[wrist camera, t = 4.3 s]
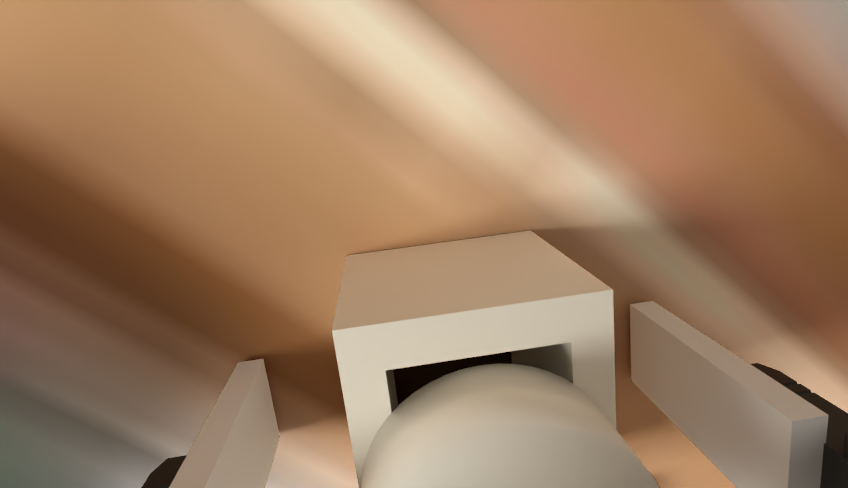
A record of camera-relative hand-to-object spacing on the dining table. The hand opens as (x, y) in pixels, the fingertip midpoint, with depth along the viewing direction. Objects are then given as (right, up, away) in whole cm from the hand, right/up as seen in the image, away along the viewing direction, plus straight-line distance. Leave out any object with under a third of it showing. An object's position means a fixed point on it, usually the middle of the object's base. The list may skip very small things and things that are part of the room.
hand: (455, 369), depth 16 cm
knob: (0, 0, 0) cm, 0 cm away
